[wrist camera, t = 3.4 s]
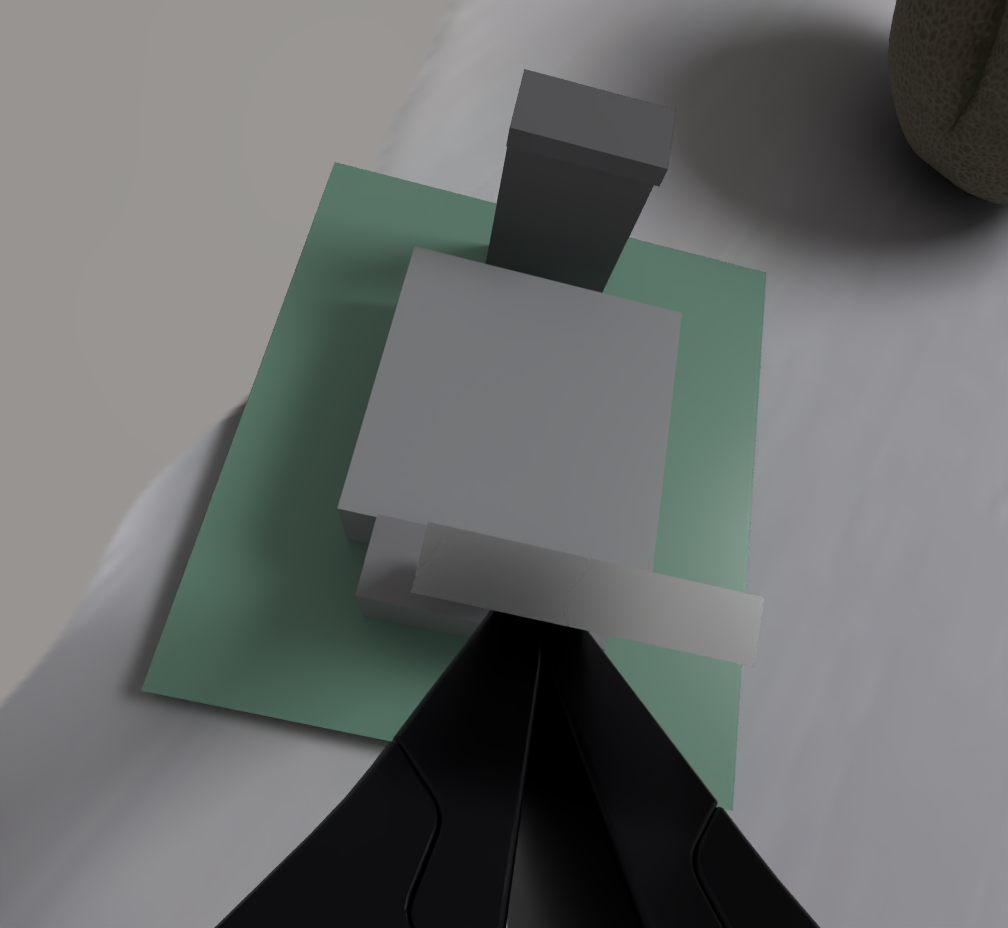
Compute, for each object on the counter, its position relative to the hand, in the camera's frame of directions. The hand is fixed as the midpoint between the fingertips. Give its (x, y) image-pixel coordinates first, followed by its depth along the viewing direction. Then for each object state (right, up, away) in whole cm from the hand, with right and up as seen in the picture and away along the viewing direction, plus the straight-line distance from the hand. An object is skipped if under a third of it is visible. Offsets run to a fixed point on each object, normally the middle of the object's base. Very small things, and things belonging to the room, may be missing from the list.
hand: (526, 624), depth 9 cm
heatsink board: (0, +2, +13) cm, 14 cm away
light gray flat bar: (0, -1, +7) cm, 7 cm away
